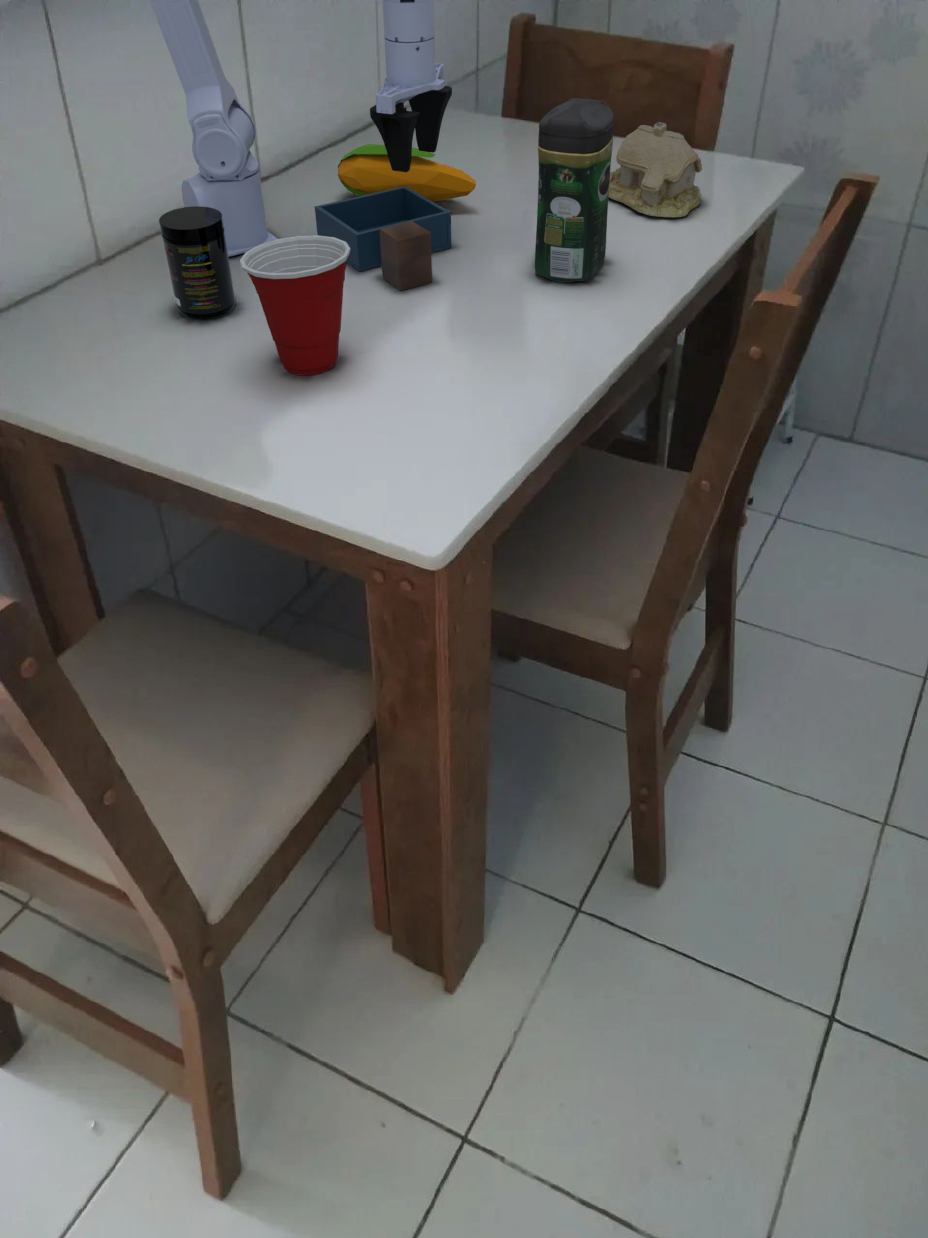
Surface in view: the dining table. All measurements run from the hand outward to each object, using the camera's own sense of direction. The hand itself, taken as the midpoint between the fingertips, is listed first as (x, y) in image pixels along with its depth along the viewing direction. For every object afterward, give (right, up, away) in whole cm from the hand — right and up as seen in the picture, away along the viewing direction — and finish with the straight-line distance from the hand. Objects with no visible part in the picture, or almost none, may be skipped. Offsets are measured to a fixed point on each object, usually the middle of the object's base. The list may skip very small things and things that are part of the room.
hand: (414, 160), depth 130 cm
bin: (-4, -8, +5) cm, 11 cm away
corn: (-2, +1, +16) cm, 16 cm away
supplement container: (-23, -21, -8) cm, 32 cm away
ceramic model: (+32, +1, +16) cm, 36 cm away
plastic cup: (-10, -29, -18) cm, 36 cm away
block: (-1, -16, -3) cm, 16 cm away
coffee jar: (+19, -14, -1) cm, 23 cm away
